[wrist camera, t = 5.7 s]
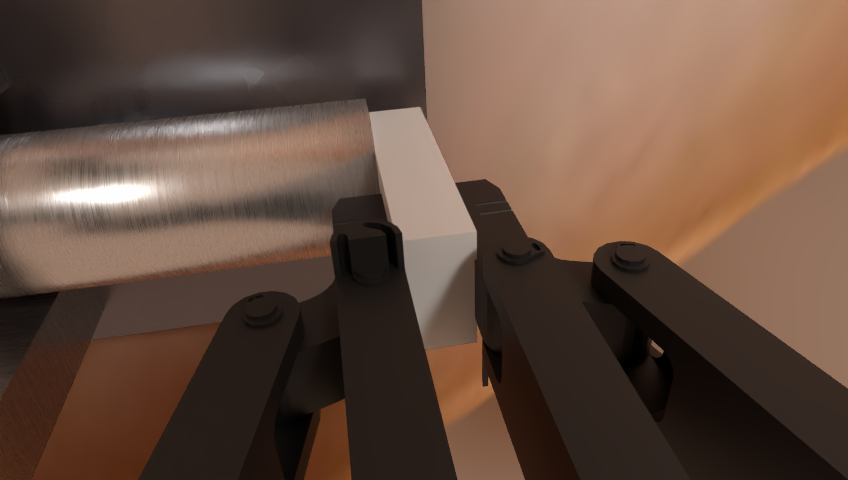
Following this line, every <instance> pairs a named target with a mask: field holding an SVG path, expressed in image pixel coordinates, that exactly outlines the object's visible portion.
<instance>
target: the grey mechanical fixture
mask: <svg viewBox="0 0 848 480" xmlns="http://www.w3.org/2000/svg"><path fill="white" fill-rule="evenodd" d="M355 99H366V102H367V106H368V110H369V112H376V111H386V110H395V109H405V108H414V107H420V108H421V110H422V112H423V115H424V117H425V119H426V121H427V111H426V88H425V66H424V43H423V21H422V0H0V135H7V134H17V133H27V132H37V131H46V130H56V129H66V128H76V127H86V126H96V125H106V124H116V123H126V122H136V121H146V120H156V119H166V118H176V117H186V116H196V115H206V114H215V113H225V112H235V111H245V110H255V109H265V108H275V107H285V106H295V105H305V104H315V103H325V102H335V101H345V100H355ZM334 279H335V274H334V268H333V261H332V256H327V257H319V258H311V259H303V260H296V261H288V262H280V263H272V264H265V265H257V266H249V267H242V268H234V269H226V270H218V271H211V272H203V273H195V274H187V275H180V276H172V277H164V278H157V279H149V280H141V281H133V282H126V283H118V284H110V285H102V286H95V287H87V288H79V289H72V290H64V291H56V292H48V293H41V294H33V295H25V296H17V297H10V298H2V299H0V480H32V477H33V475H34V473H35V470H36V468H37V466H38V463H39V461H40V458H41V456H42V454H43V451H44V449H45V447H46V444H47V442H48V440H49V437H50V435H51V433H52V430H53V428H54V426H55V423H56V421H57V419H58V416H59V414H60V412H61V409H62V407H63V405H64V402H65V400H66V398H67V395H68V393H69V391H70V388H71V386H72V384H73V381H74V379H75V377H76V374H77V372H78V369H79V367H80V365H81V362H82V360H83V358H84V355H85V353H86V351H87V348H88V346H89V344H90V341H91V340H96V339H103V338H110V337H117V336H124V335H132V334H139V333H146V332H153V331H160V330H168V329H175V328H182V327H189V326H196V325H204V324H211V323H218V322H222V320H223V318H224V316H225V314H226V313H227V312H228V310H229V309H230V308H231V307H232V306H233V305H234V304H235V303H237V302H238V301H240V300H241V299H243V298H244V297H247V296H250V295H253V294H256V293H259V292H267V291H277V292H284V293H287V294H289V295H291V296H293V297H295V298H296V300H297V301H298V303H299V302H302V301H305V300H308V299H310V298H312V297H315V296H317V295H319V294H320V293H322V292H323V291H325V290H326V289H327V288H328V287H329V286H330V285H331V284H332V283H333V281H334Z"/></svg>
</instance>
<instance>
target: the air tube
mask: <svg viewBox="0 0 848 480" xmlns="http://www.w3.org/2000/svg"><path fill="white" fill-rule="evenodd" d="M373 194H380V188H379V180H378V171H377V164H376V156H375V147H374V140H373V134H372V127H371V121H370V116H369V110H368V106H367V102H366V99H355V100H345V101H335V102H325V103H315V104H305V105H295V106H285V107H275V108H265V109H255V110H245V111H235V112H225V113H215V114H206V115H196V116H186V117H176V118H166V119H156V120H146V121H136V122H126V123H116V124H106V125H96V126H86V127H76V128H66V129H56V130H46V131H37V132H27V133H17V134H7V135H0V299H2V298H10V297H17V296H25V295H33V294H41V293H48V292H56V291H64V290H72V289H79V288H87V287H95V286H102V285H110V284H118V283H126V282H133V281H141V280H149V279H157V278H164V277H172V276H180V275H187V274H195V273H203V272H211V271H218V270H226V269H234V268H242V267H249V266H257V265H265V264H272V263H280V262H288V261H296V260H303V259H311V258H319V257H327V256H332V255H331V249H330V239H331V235H332V234H333V223H332V212H331V210H332V209H333V207H334V206H335V204H336V203H337V201H338V200H339V199H340V198H348V197H357V196H365V195H373Z"/></svg>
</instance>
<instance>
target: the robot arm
mask: <svg viewBox="0 0 848 480" xmlns="http://www.w3.org/2000/svg"><path fill="white" fill-rule="evenodd" d="M369 116H370V121H371V127H372V134H373V140H374V147H375V156H376V164H377V171H378V180H379V188H380V194H373V195H365V196H357V197H348V198H340V199H339V200H338V201H337V203H336V204H335V206H334V207H333V209H332V210H331V212H332V223H333V234H332V235H331V239H330V249H331V255H332V261H333V268H334V274H335V279H334V281H333V283H332V284H331V285H330V286H329V287H328V288H327V289H326V290H325V291H323V292H322V293H320V294H319V295H317V296H315V297H312V298H310V299H308V300H305V301H302V302H299V303H298V301H297V300H296V298H295V297H293V296H291V295H289V294H287V293H284V292H277V291H267V292H259V293H256V294H253V295H250V296H247V297H244V298H243V299H241V300H240V301H238V302H237V303H235V304H234V305H233V306H232V307H231V308H230V309H229V310H228V312H227V313H226V314H225V316H224V318H223V320H222V322H221V324H220V326H219V328H218V330H217V331H216V333H215V335H214V337H213V339H212V341H211V343H210V345H209V347H208V349H207V350H206V352H205V354H204V356H203V358H202V360H201V362H200V364H199V366H198V367H197V369H196V371H195V373H194V375H193V377H192V379H191V381H190V383H189V385H188V386H187V388H186V390H185V392H184V394H183V396H182V398H181V400H180V402H179V404H178V405H177V407H176V409H175V411H174V413H173V415H172V417H171V419H170V421H169V422H168V424H167V426H166V428H165V430H164V432H163V434H162V436H161V438H160V440H159V441H158V443H157V445H156V447H155V449H154V451H153V453H152V455H151V457H150V459H149V460H148V462H147V464H146V466H145V468H144V470H143V472H142V474H141V476H140V477H139V479H138V480H304V476H305V473H306V469H307V465H308V462H309V458H310V454H311V450H312V447H313V443H314V439H315V436H316V432H317V428H318V425H319V421H320V409H322V408H324V407H326V406H329V405H331V404H333V403H335V402H338V401H340V400H342V399H345V404H346V416H347V428H348V440H349V452H350V465H351V477H352V480H457V476H456V472H455V468H454V464H453V460H452V456H451V452H450V448H449V444H448V440H447V436H446V432H445V428H444V424H443V420H442V416H441V412H440V408H439V404H438V400H437V396H436V392H435V388H434V384H433V380H432V376H431V372H430V368H429V364H428V360H427V356H426V352H425V350H428V349H435V348H442V347H448V346H455V345H461V344H468V343H475V342H477V325H478V327H479V330H480V333H481V335H482V382H483V387H484V386H488V377H489V378H490V381H491V384H492V387H493V390H494V392H495V395H496V398H497V401H498V404H499V407H500V410H501V412H502V415H503V418H504V421H505V424H506V426H507V429H508V432H509V435H510V438H511V441H512V444H513V446H514V449H515V452H516V455H517V458H518V461H519V464H520V467H521V469H522V472H523V475H524V478H525V480H848V389H847V388H846V387H845V386H843V385H842V384H841V383H839V382H838V381H836V380H835V379H834V378H832V377H831V376H829V375H828V374H827V373H825V372H824V371H823V370H821V369H820V368H818V367H817V366H816V365H814V364H813V363H811V362H810V361H809V360H807V359H806V358H805V357H803V356H802V355H801V354H799V353H798V352H796V351H795V350H794V349H792V348H791V347H789V346H788V345H787V344H785V343H784V342H782V341H781V340H780V339H778V338H777V337H776V336H774V335H773V334H771V333H770V332H769V331H767V330H766V329H765V328H763V327H762V326H760V325H759V324H758V323H756V322H755V321H754V320H752V319H751V318H749V317H748V316H747V315H745V314H744V313H742V312H741V311H740V310H738V309H737V308H735V307H734V306H733V305H731V304H730V303H729V302H727V301H726V300H724V299H723V298H721V297H720V296H719V295H718V294H716V293H715V292H713V291H712V290H710V289H709V288H708V287H706V286H705V285H704V284H702V283H701V282H699V281H698V280H697V279H695V278H694V277H693V276H691V275H690V274H689V273H687V272H686V271H684V270H683V269H681V268H680V267H679V266H677V265H676V264H675V263H673V262H672V261H671V260H669V259H668V258H666V257H665V256H664V255H662V254H661V253H660V252H658V251H656V250H654V249H652V248H651V247H649V246H647V245H643V244H639V243H635V242H629V241H628V242H626V241H619V242H613V243H607V244H605V245H603V246H601V247H599V248H598V249H597V251H596V252H595V253H594V257H593V262H579V261H568V260H560V259H557V258H554V256H553V254H552V253H551V251H550V250H549V249H548V248H547V247H546V246H545V245H544V244H543V243H542V242H540V241H537V240H535V239H533V238H528V237H527V235H526V233H525V231H524V230H523V228H522V226H521V225H520V223H519V221H518V219H517V218H516V216H515V214H514V213H513V211H511V207H510V206H509V204H508V202H506V199H505V197H504V195H503V194H502V192H501V190H500V188H498V187H497V186H495V185H493V184H492V183H490V182H489V181H487V180H486V179H484V180H476V181H467V182H459V183H455V182H454V180H453V178H452V176H451V174H450V172H449V169H448V167H447V165H446V163H445V161H444V158H443V156H442V154H441V152H440V150H439V147H438V145H437V143H436V141H435V139H434V136H433V134H432V132H431V130H430V128H429V126H428V123H427V121H426V119H425V117H424V115H423V112H422V110H421V108H420V107H414V108H405V109H395V110H386V111H376V112H369ZM652 340H653V341H654V342H655V343H656V344H657V345H658V346H659V347H661V348H662V350H664V352H663V354H662V353H660V352H659V351H657V350H656V349H655V348H654V347H653V346H652V345H651V343H652Z"/></svg>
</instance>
